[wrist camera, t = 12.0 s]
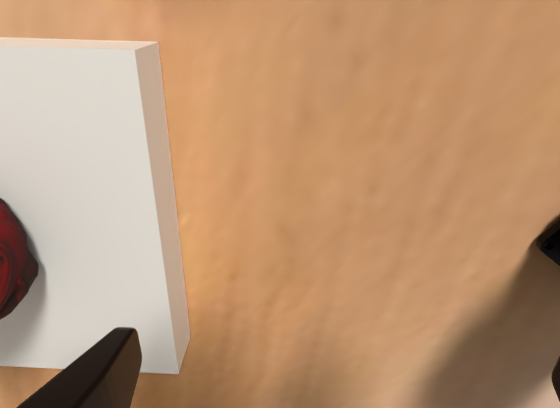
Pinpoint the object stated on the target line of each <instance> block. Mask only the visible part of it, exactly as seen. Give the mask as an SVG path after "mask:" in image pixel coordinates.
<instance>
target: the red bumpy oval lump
mask: <svg viewBox="0 0 560 408" xmlns="http://www.w3.org/2000/svg"><path fill="white" fill-rule="evenodd" d="M38 269H39V265H38V262H37V261H36V259H35V258H34V257H33V255H32V253H31V252H30V250H29V247H28V243H27V236H26V233H25V231H24V230H23V228H22V226H21V224H20V223H19V221H18V219H17V218H16V216H15V215H14V214H13V213H12V212H11V210H10V209H9V208H8V206H7V205H6V204H5V201H4V200H2V199H1V198H0V320H1V319H2V318H4V317H6V316H7V315H9V314H10V313H12V311H13V310H14V309H15V308H16V307H17V305H18V304H19V303H20V302H21V301H22V299H23V298H24V297H25V296H26V295H27V294H28V292H29V289H30V287H31V285H32V284H33V282H34V280H35V279H36V277H37V276H38Z"/></svg>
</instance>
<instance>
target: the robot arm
mask: <svg viewBox="0 0 560 408" xmlns="http://www.w3.org/2000/svg"><path fill="white" fill-rule="evenodd" d="M549 242H551V243H550V244H549V245H546V244H547V243H549ZM536 244H537V247H538V248H539V249H540V250H541V251H542V252H543V253H544V254H545V255H547V256H548V257H549V258H551V259H552V260H553V261H554V262H556V263H557V264H558V265H559V266H560V222H558V223H557V224H556V225H555V226H553V227H552V228H551V229H550V230H548V231H547V232H546V233H545V234H543V235H542V236H541V237H540V238H539V239H538V240H537V242H536ZM545 245H546V246H545ZM141 364H142V352H141V347H140V342H139V337H138V332H137V330H136V329H135V328H133V327H116V328H114V329H113V330H112V331H110V332H109V333H108V334H107V335H105V336H104V337H103V338H102V339H101V340H99V341H98V342H97V343H96V344H94V345H93V346H92V347H91V348H89V349H88V350H87V351H86V352H84V353H83V354H82V355H81V356H80V357H78V358H77V359H76V360H75V361H73V362H72V363H71V364H70V365H68V366H67V367H66V368H65V369H63V370H62V371H61V372H60V373H59V374H57V375H56V376H55V377H54V378H52V379H51V380H50V381H49V382H47V383H46V384H45V385H44V386H43V387H41V388H40V389H39V390H38V391H36V392H35V393H34V394H33V395H31V396H30V397H29V398H28V399H26V400H25V401H24V402H23V403H22V404H20V405H19V406H18V407H17V408H130V405H131V401H132V398H133V394H134V390H135V387H136V383H137V379H138V376H139V372H140V368H141ZM552 383H553V386H554V389H555V391H556V394H557V396H558V399H559V401H560V357H559V359H558V361H557V363H556V365H555V367H554V369H553V371H552Z"/></svg>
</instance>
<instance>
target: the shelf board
mask: <svg viewBox="0 0 560 408" xmlns="http://www.w3.org/2000/svg"><path fill="white" fill-rule="evenodd" d="M0 198H1V199H2V200H4V201H5V204H6V205H7V206H8V208H9V209H10V210H11V212H12V213H13V214H14V215H15V216H16V218H17V219H18V221H19V223H20V224H21V226H22V228H23V230H24V231H25V233H26V236H27V243H28V247H29V250H30V252H31V253H32V255H33V257H34V258H35V259H36V261H37V262H38V265H39V269H38V276H37V277H36V279H35V280H34V282H33V284H32V285H31V287H30V289H29V292H28V294H27V295H26V296H25V297H24V298H23V299H22V301H21V302H20V303H19V304H18V305H17V307H16V308H15V309H14V310H13V311H12V313H10V314H9V315H7V316H6V317H4V318H2V319H1V320H0V366H14V367H35V368H57V369H65V368H66V367H67V366H68V365H70V364H71V363H72V362H73V361H75V360H76V359H77V358H78V357H80V356H81V355H82V354H83V353H84V352H86V351H87V350H88V349H89V348H91V347H92V346H93V345H94V344H96V343H97V342H98V341H99V340H101V339H102V338H103V337H104V336H105V335H107V334H108V333H109V332H110V331H112V330H113V329H114V328H116V327H133V328H135V329H136V330H137V332H138V337H139V342H140V347H141V352H142V364H141V368H140V372H143V373H164V374H179V372H180V368H181V365H182V362H183V359H184V356H185V352H186V349H187V346H188V343H189V339H190V336H191V335H190V326H189V317H188V308H187V299H186V290H185V280H184V271H183V262H182V253H181V244H180V235H179V225H178V216H177V207H176V198H175V189H174V180H173V171H172V161H171V152H170V143H169V134H168V125H167V116H166V107H165V97H164V88H163V79H162V70H161V61H160V52H159V42H149V41H114V40H79V39H44V38H9V37H0Z"/></svg>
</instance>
